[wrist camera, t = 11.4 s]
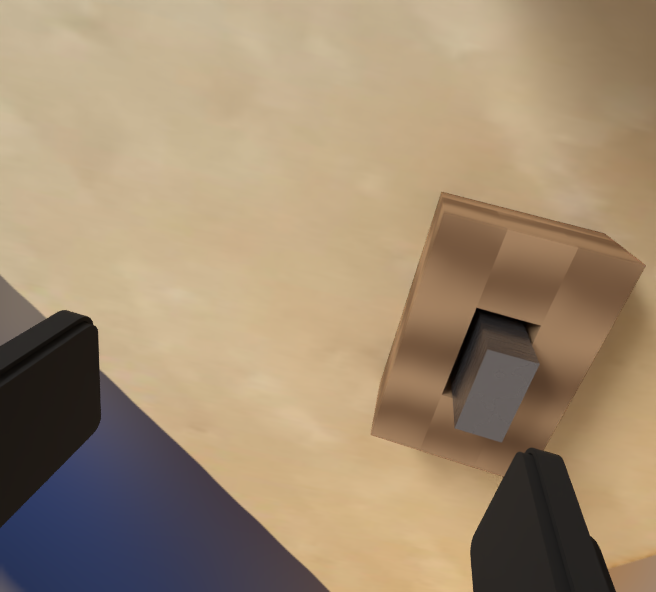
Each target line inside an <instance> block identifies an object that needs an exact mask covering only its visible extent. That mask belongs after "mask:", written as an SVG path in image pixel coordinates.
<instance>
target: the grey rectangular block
mask: <svg viewBox="0 0 656 592" xmlns="http://www.w3.org/2000/svg"><path fill="white" fill-rule="evenodd" d="M539 365H540V363H539V361H538V358H537V356H536V354H535V351H534V349H533V346H532V344H531V341H530V339H529V336H528V334H527V332H526V329H525V327H524V324H523V322H522V320H519V319H515V318H512V317H508V316H505V315H501V314H498V313H494V312H490V311H487V310H483V309H480V308H476V310H475V313H474V315H473V318H472V320H471V323H470V325H469V328H468V330H467V333H466V335H465V338H464V340H463V343H462V345H461V348H460V350H459V353H458V355H457V358H456V360H455V363H454V365H453V368H452V370H451V385H452V399H453V413H454V428H455V429H458V430H462V431H465V432H468V433H472V434H475V435H478V436H482V437H485V438H488V439H492V440H495V441H498V442H502V441H503V439H504V437H505V435H506V433H507V431H508V429H509V427H510V425H511V423H512V420H513V418H514V416H515V414H516V412H517V410H518V408H519V406H520V404H521V402H522V400H523V398H524V396H525V394H526V392H527V389H528V387H529V385H530V383H531V381H532V379H533V377H534V375H535V373H536V371H537V369H538V367H539Z"/></svg>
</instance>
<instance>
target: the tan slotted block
mask: <svg viewBox="0 0 656 592" xmlns="http://www.w3.org/2000/svg"><path fill="white" fill-rule="evenodd" d="M645 267H646V265H645V264H643V263H642V262H641V261H640V260H638V259H637V258H636V257H634V256H633V255H632V254H631V253H629V252H628V251H627V250H625V249H624V248H623V247H622V246H620V245H619V244H618V243H616V242H615V241H614V240H612V239H611V238H610V237H609V236H607V235H606V234H604V233H600V232H596V231H592V230H588V229H585V228H581V227H577V226H573V225H569V224H565V223H561V222H557V221H553V220H549V219H546V218H542V217H538V216H534V215H530V214H526V213H522V212H518V211H514V210H511V209H507V208H503V207H499V206H495V205H491V204H487V203H483V202H479V201H476V200H472V199H468V198H464V197H460V196H456V195H452V194H448V193H444V192H441V195H440V199H439V202H438V205H437V208H436V211H435V214H434V217H433V220H432V223H431V227H430V230H429V233H428V236H427V239H426V242H425V245H424V248H423V251H422V255H421V258H420V261H419V264H418V267H417V270H416V273H415V276H414V279H413V282H412V286H411V289H410V292H409V295H408V298H407V301H406V304H405V307H404V310H403V314H402V317H401V320H400V323H399V326H398V329H397V332H396V335H395V338H394V342H393V345H392V348H391V351H390V354H389V357H388V360H387V363H386V366H385V370H384V373H383V376H382V379H381V382H380V386H379V391H378V397H377V402H376V408H375V413H374V419H373V424H372V430H371V435H372V436H376V437H379V438H382V439H385V440H388V441H392V442H395V443H398V444H401V445H404V446H407V447H411V448H414V449H417V450H420V451H423V452H426V453H430V454H433V455H436V456H439V457H442V458H445V459H449V460H452V461H455V462H458V463H461V464H464V465H468V466H471V467H474V468H477V469H480V470H484V471H487V472H490V473H493V474H496V475H499V476H503V477H504V476H505V474H506V472H507V470H508V468H509V466H510V464H511V462H512V460H513V458H514V456H515V455H516V453H517V452H523V453H525V452H526V450H527V449H528V448H536V449H539V450H542V451H543V450H544V448H545V447H546V445H547V443H548V441H549V439H550V438H551V436H552V434H553V432H554V430H555V429H556V427H557V425H558V423H559V421H560V420H561V418H562V416H563V414H564V412H565V411H566V409H567V407H568V405H569V403H570V402H571V400H572V398H573V396H574V394H575V393H576V391H577V389H578V387H579V385H580V384H581V382H582V380H583V378H584V376H585V375H586V373H587V371H588V369H589V367H590V366H591V364H592V362H593V360H594V358H595V357H596V355H597V353H598V351H599V349H600V348H601V346H602V344H603V342H604V340H605V339H606V337H607V335H608V333H609V331H610V330H611V328H612V326H613V324H614V322H615V321H616V319H617V317H618V315H619V313H620V312H621V310H622V308H623V306H624V304H625V303H626V301H627V299H628V297H629V295H630V294H631V292H632V290H633V288H634V286H635V285H636V283H637V281H638V279H639V277H640V276H641V274H642V272H643V270H644V268H645ZM476 308H480V309H483V310H487V311H490V312H494V313H498V314H501V315H505V316H508V317H512V318H515V319H519V320H522V322H523V324H524V327H525V329H526V332H527V334H528V336H529V339H530V341H531V344H532V346H533V349H534V351H535V354H536V356H537V358H538V361H539V363H540V365H539V367H538V369H537V371H536V373H535V375H534V377H533V379H532V381H531V383H530V385H529V387H528V389H527V392H526V394H525V396H524V398H523V400H522V402H521V404H520V406H519V408H518V410H517V412H516V414H515V416H514V418H513V420H512V423H511V425H510V427H509V429H508V431H507V433H506V435H505V437H504V439H503V441H502V442H498V441H495V440H492V439H488V438H485V437H482V436H478V435H475V434H472V433H468V432H465V431H462V430H458V429H455V428H454V413H453V399H452V385H451V370H452V368H453V365H454V363H455V360H456V358H457V355H458V353H459V350H460V348H461V345H462V343H463V340H464V338H465V335H466V333H467V330H468V328H469V325H470V323H471V320H472V318H473V315H474V313H475V310H476Z"/></svg>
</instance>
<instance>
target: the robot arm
mask: <svg viewBox="0 0 656 592" xmlns="http://www.w3.org/2000/svg"><path fill="white" fill-rule="evenodd" d="M100 420H101V406H100V376H99V345H98V329H97V327H96V326H94V325H93V321H92V320H91V318H89V317H87V316H84V315H80V314H77V313H74V312H70V311H67V310H62V311H59V312H57V313H55V314H54V315H52V316H50V317H49V318H47V319H45V320H44V321H42V322H40V323H39V324H37V325H35V326H34V327H32V328H30V329H29V330H27V331H25V332H23V333H22V334H20V335H19V336H17V337H15V338H13V339H12V340H10V341H8V342H7V343H5V344H3V345H2V346H0V528H1V527H2V525H4V524H5V522H6V521H7V520H8V519H9V518H10V517H11V516H12V515H13V514H14V513H15V512H16V511H17V510H18V509H19V508H20V507H21V506H22V505H23V504H24V503H25V502H26V501H27V500H28V499H29V498H30V497H31V496H32V495H33V494H34V493H35V492H36V491H37V490H38V489H39V488H40V487H41V486H42V485H43V484H44V483H45V482H46V481H47V480H48V479H49V478H50V477H51V476H52V475H53V474H54V472H56V471H57V470H58V469H59V468H60V467H61V466H62V465H63V464H64V463H65V462H66V461H67V460H68V459H69V458H70V457H71V456H72V455H73V453H74V452H75V451H76V450H78V449H79V448H80V446H81V445H82V444H83V443H84V442H85V441H86V440H87V439H88V438H89V437H90V436H91V435H92V434H93V433H94V432H95V431H96V429H97V428H98V425H99V423H100ZM470 555H471V568H472V581H473V592H616V591H615V588H614V585H613V583H612V580H611V577H610V575H609V572H608V569H607V566H606V563H605V561H604V558H603V555H602V552H601V550H600V548H599V546H598V544H597V542H596V541H595V540H594V539H593V538H592V537H591V536H590V535H589V532H588V529H587V526H586V523H585V520H584V518H583V515H582V512H581V509H580V506H579V503H578V500H577V498H576V495H575V492H574V489H573V486H572V483H571V481H570V478H569V475H568V472H567V469H566V466H565V464H564V461H563V459H562V457H560V456H559V455H556V454H553V453H549V452H546V451H542V450H539V449H536V448H528V449H527V450H526V452H525V453H523V452H517V453H516V455H515V456H514V458H513V460H512V462H511V464H510V466H509V468H508V470H507V472H506V474H505V476H504V477H503V479H502V481H501V483H500V485H499V487H498V489H497V491H496V493H495V495H494V497H493V499H492V501H491V503H490V505H489V507H488V509H487V510H486V512H485V514H484V516H483V518H482V520H481V522H480V524H479V526H478V528H477V530H476V532H475V534H474V536H473V539H472V543H471V550H470Z"/></svg>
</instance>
